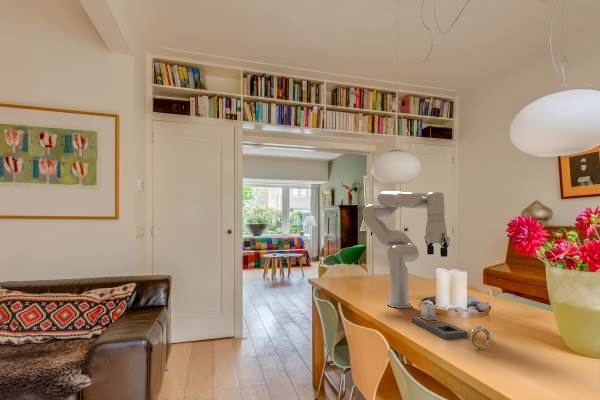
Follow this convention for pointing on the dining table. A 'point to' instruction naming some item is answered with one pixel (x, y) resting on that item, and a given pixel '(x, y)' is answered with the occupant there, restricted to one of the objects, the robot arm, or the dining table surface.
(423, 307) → the peg
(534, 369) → the dining table surface
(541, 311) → the dining table surface
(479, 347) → the bracelet
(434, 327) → the dark grey socket board
